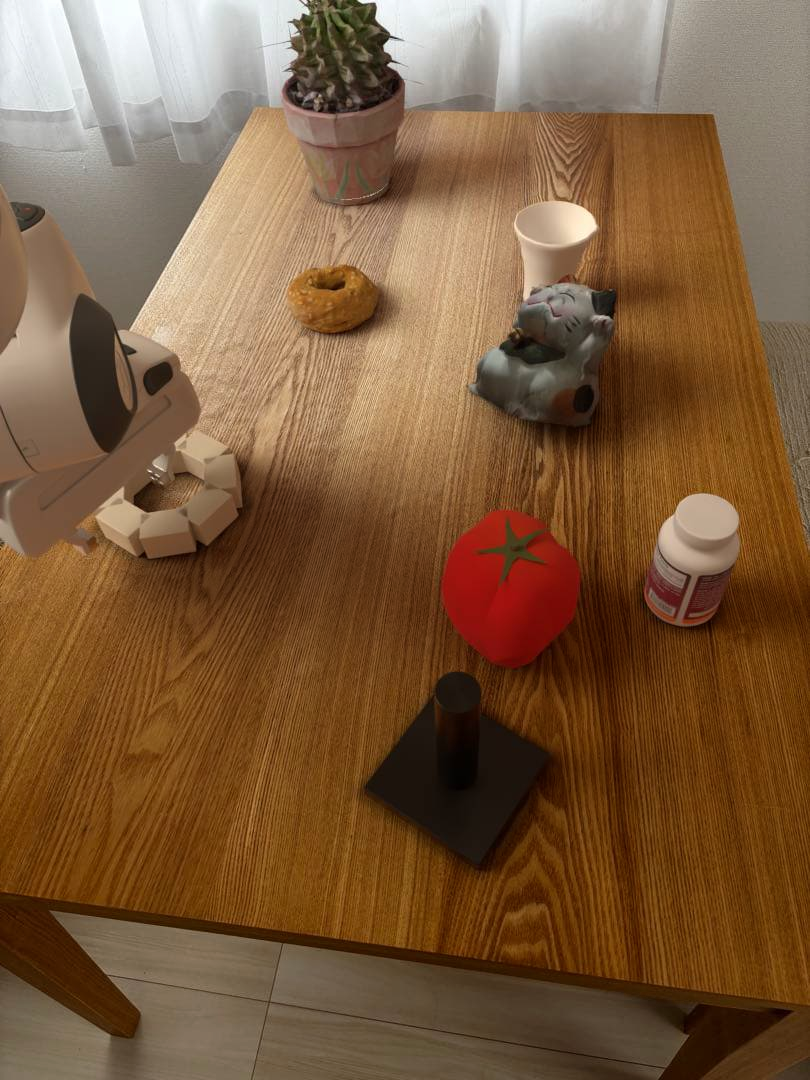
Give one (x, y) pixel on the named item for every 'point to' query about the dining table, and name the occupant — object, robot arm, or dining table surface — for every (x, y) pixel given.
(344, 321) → the bagel
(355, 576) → the dining table surface
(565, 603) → the tomato
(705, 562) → the pill bottle
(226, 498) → the ring
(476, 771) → the post
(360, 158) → the potted plant
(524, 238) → the cup
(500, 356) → the lucky cat figurine
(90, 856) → the dining table surface
